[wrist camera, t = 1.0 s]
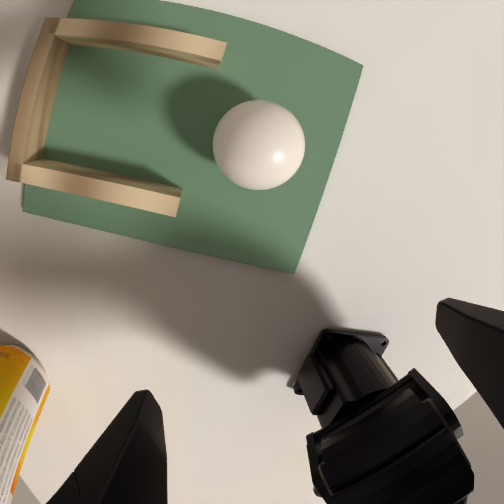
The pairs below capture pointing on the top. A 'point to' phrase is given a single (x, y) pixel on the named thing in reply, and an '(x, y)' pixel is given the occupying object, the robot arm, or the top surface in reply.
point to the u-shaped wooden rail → (43, 94)
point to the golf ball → (258, 145)
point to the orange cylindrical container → (18, 411)
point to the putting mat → (195, 132)
